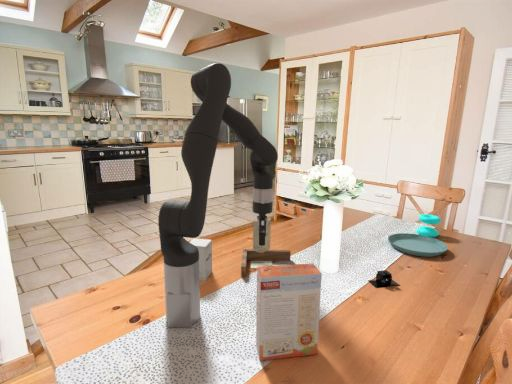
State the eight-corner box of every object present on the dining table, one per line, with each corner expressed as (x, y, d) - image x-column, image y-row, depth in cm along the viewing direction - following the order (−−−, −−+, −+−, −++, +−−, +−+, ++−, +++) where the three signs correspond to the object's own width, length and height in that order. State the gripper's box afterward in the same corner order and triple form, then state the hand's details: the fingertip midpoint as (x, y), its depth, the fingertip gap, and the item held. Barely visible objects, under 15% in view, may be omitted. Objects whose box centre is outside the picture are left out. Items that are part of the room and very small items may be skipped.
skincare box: (261, 253, 113) (262, 222, 110) (252, 250, 115) (252, 220, 113) (270, 248, 118) (271, 218, 115) (261, 245, 120) (261, 216, 118)
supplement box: (205, 281, 104) (205, 246, 102) (185, 278, 106) (184, 244, 103) (212, 271, 111) (212, 239, 109) (194, 269, 113) (193, 237, 110)
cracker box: (309, 338, 77) (314, 262, 72) (317, 355, 71) (323, 273, 67) (254, 343, 74) (256, 264, 70) (258, 361, 69) (260, 277, 64)
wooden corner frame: (294, 278, 108) (295, 267, 107) (241, 277, 108) (241, 266, 107) (289, 259, 124) (290, 250, 123) (242, 258, 123) (243, 249, 123)
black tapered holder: (373, 291, 101) (374, 278, 100) (361, 280, 108) (362, 268, 107) (405, 288, 104) (407, 275, 103) (392, 278, 111) (393, 266, 110)
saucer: (398, 235, 155) (398, 229, 155) (452, 249, 139) (453, 242, 138) (378, 247, 138) (379, 241, 138) (438, 264, 122) (439, 257, 121)
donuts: (414, 213, 159) (430, 213, 161) (412, 232, 161) (427, 230, 163) (429, 219, 149) (445, 218, 152) (426, 238, 151) (443, 237, 154)
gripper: (252, 195, 119) (252, 234, 123) (252, 204, 105) (251, 248, 109) (271, 195, 119) (270, 235, 123) (274, 204, 105) (272, 248, 109)
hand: (261, 241), depth 116 cm, fingers closed on skincare box, 7 cm apart
